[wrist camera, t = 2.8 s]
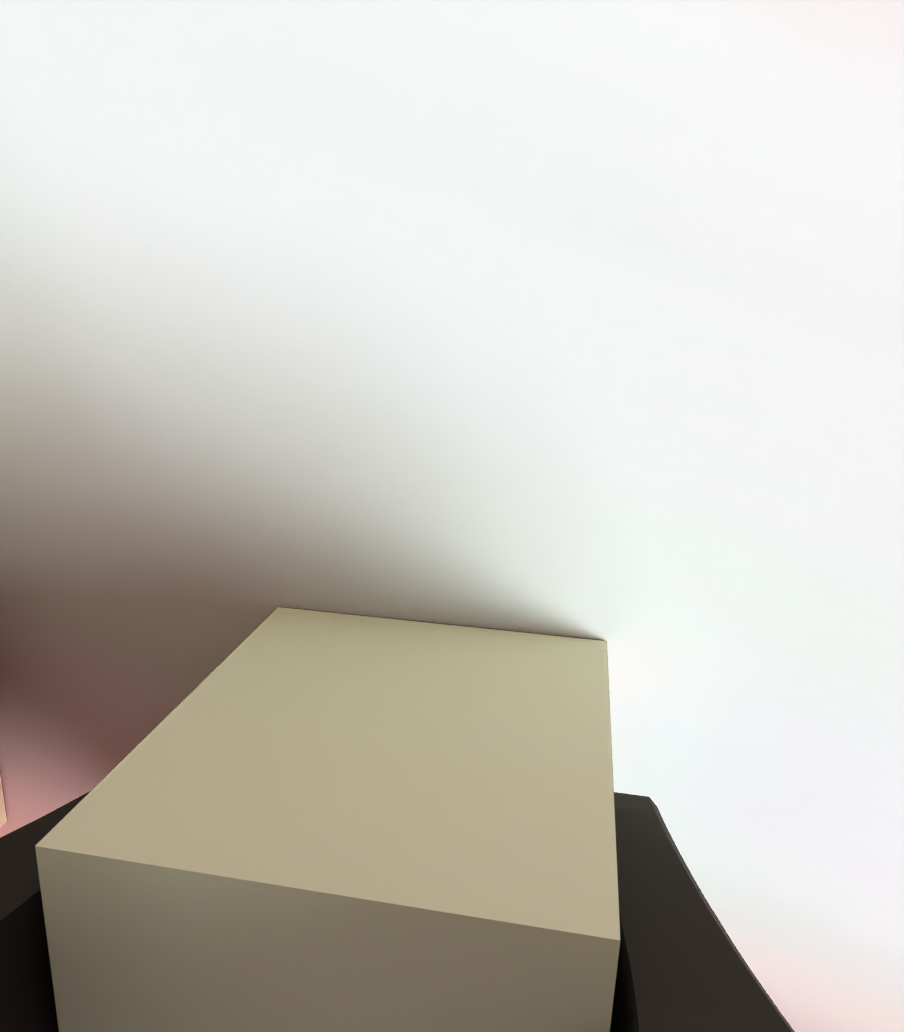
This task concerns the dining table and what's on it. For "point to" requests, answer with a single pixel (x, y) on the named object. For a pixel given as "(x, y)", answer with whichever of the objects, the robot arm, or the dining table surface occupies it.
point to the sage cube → (351, 842)
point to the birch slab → (2, 806)
